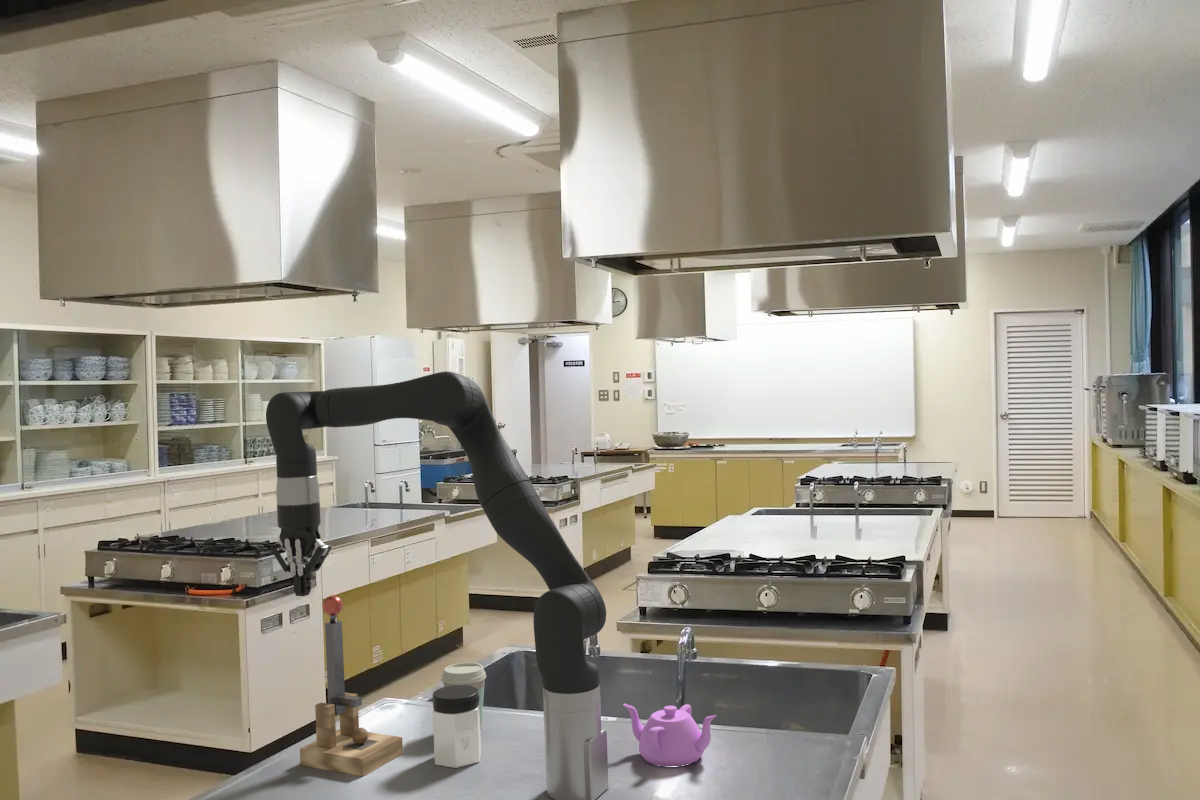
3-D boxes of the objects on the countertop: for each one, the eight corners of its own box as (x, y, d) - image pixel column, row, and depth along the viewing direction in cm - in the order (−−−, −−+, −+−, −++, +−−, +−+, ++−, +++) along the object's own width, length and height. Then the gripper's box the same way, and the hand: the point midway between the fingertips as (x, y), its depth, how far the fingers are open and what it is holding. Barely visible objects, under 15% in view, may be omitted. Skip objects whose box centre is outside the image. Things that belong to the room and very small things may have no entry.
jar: (444, 772, 169) (442, 702, 168) (425, 758, 175) (422, 691, 175) (491, 759, 174) (488, 692, 173) (471, 746, 180) (468, 681, 180)
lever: (366, 712, 177) (362, 594, 177) (351, 720, 173) (346, 599, 173) (337, 708, 180) (332, 592, 180) (321, 715, 176) (316, 597, 176)
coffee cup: (497, 726, 191) (494, 664, 190) (469, 740, 183) (466, 676, 183) (463, 719, 195) (460, 659, 195) (434, 733, 188) (431, 671, 188)
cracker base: (402, 753, 178) (400, 696, 178) (363, 776, 168) (360, 715, 168) (342, 743, 184) (339, 688, 184) (300, 765, 174) (298, 706, 174)
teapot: (719, 765, 167) (717, 714, 167) (639, 775, 164) (637, 722, 164) (698, 741, 179) (696, 692, 179) (624, 749, 176) (622, 700, 176)
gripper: (340, 498, 180) (344, 593, 180) (285, 498, 186) (289, 589, 186) (311, 504, 173) (316, 602, 174) (255, 502, 179) (260, 597, 179)
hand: (302, 595), depth 180 cm, fingers closed
